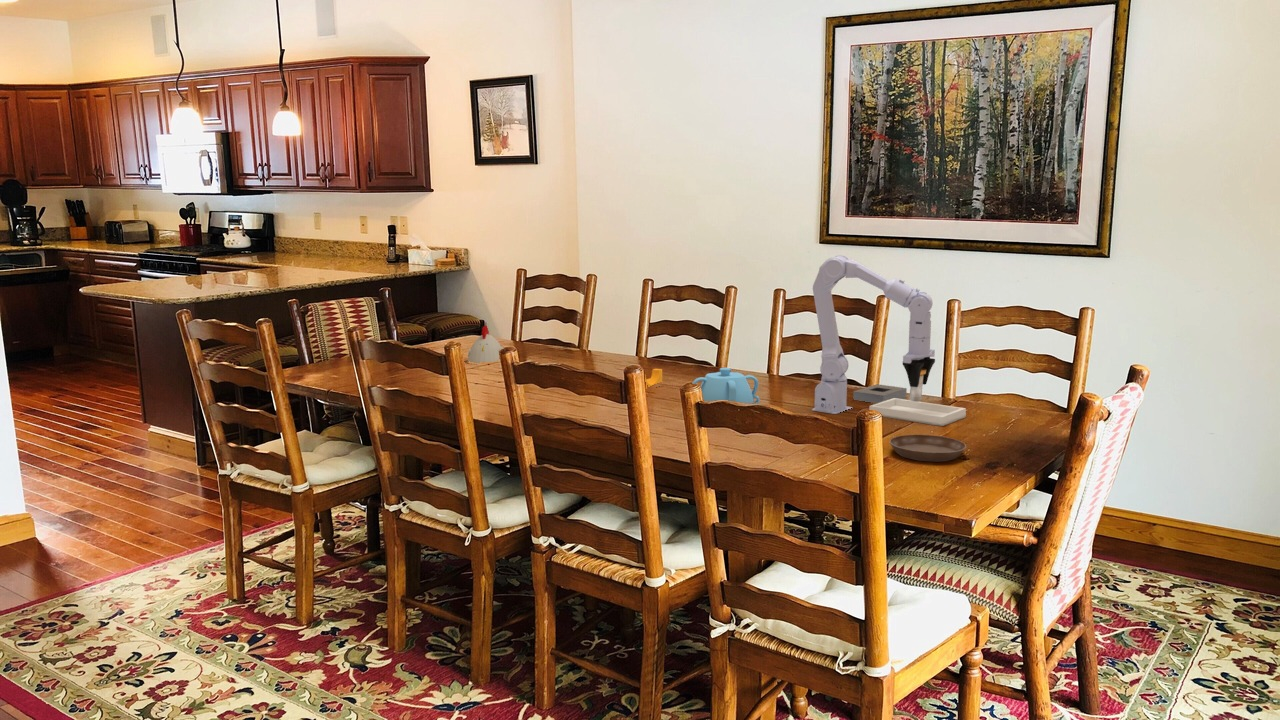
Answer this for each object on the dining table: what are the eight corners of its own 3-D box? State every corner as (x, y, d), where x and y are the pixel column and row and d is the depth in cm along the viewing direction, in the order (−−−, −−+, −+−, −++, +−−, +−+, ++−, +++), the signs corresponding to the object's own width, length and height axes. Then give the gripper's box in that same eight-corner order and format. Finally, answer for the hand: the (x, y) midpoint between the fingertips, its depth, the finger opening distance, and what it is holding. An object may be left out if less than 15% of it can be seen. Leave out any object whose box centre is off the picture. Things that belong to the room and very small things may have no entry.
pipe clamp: (651, 387, 324) (650, 368, 323) (662, 388, 322) (662, 369, 321) (630, 394, 315) (630, 374, 314) (642, 395, 312) (642, 375, 311)
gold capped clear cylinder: (917, 403, 276) (920, 372, 274) (904, 399, 279) (906, 368, 277) (926, 399, 279) (929, 369, 276) (912, 395, 282) (915, 365, 280)
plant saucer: (936, 442, 250) (936, 431, 250) (981, 460, 234) (982, 447, 233) (875, 449, 245) (875, 437, 244) (916, 468, 228) (917, 455, 228)
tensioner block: (882, 405, 292) (883, 395, 292) (853, 401, 299) (853, 391, 299) (906, 397, 303) (906, 388, 302) (876, 393, 309) (877, 384, 309)
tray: (942, 426, 266) (942, 417, 266) (869, 414, 281) (869, 405, 281) (965, 417, 276) (965, 408, 276) (893, 406, 291) (894, 398, 291)
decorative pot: (729, 424, 272) (730, 375, 270) (684, 416, 283) (684, 368, 280) (765, 414, 284) (765, 367, 281) (720, 406, 294) (721, 361, 292)
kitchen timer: (464, 369, 362) (462, 328, 360) (472, 362, 376) (470, 323, 373) (502, 369, 361) (500, 328, 359) (508, 362, 375) (507, 323, 372)
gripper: (920, 341, 267) (918, 391, 269) (945, 335, 277) (943, 383, 280) (896, 339, 272) (895, 388, 274) (922, 333, 282) (920, 380, 285)
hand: (918, 385), depth 277 cm, fingers closed on gold capped clear cylinder, 4 cm apart
